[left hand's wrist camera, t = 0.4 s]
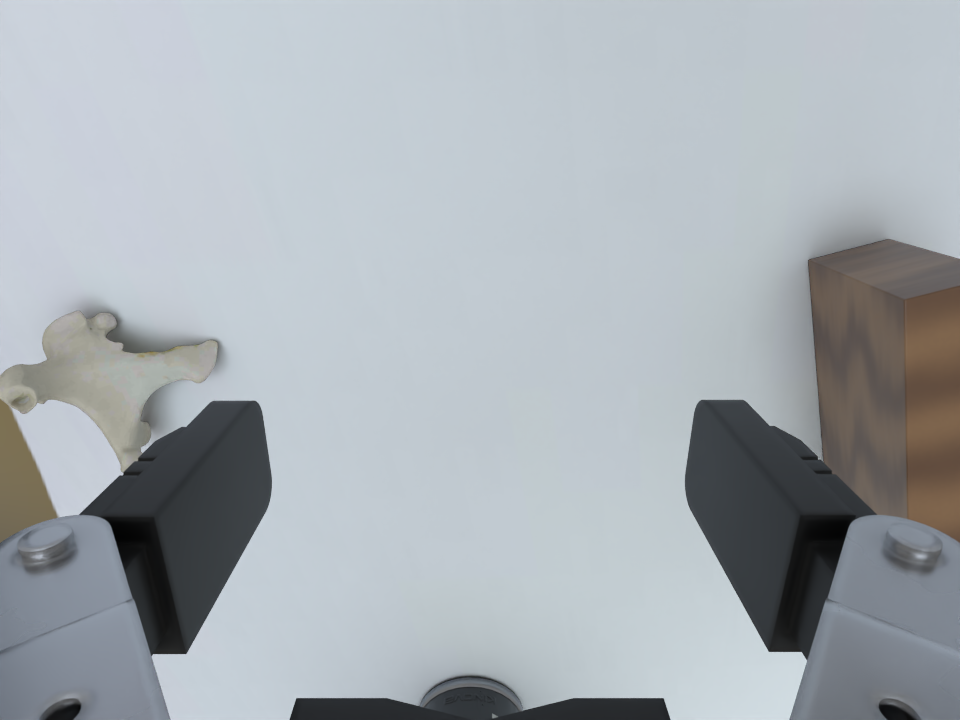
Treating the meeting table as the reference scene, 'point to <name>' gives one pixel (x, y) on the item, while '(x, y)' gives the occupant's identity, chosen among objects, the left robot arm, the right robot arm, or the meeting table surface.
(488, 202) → the meeting table surface
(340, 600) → the meeting table surface
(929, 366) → the bar
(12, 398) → the bone
